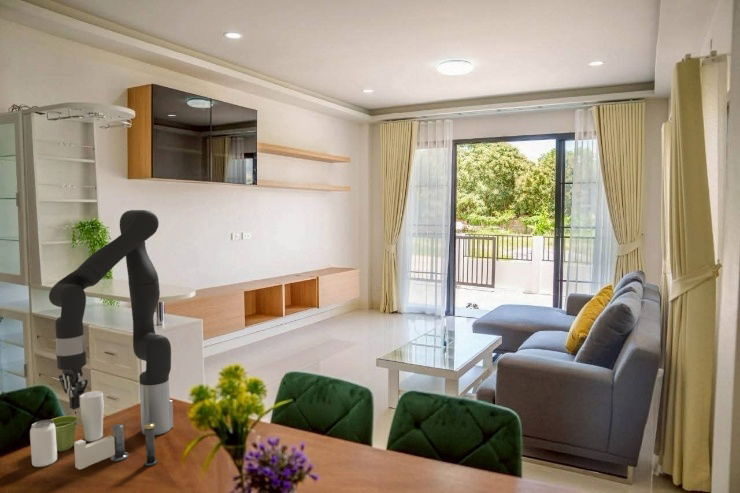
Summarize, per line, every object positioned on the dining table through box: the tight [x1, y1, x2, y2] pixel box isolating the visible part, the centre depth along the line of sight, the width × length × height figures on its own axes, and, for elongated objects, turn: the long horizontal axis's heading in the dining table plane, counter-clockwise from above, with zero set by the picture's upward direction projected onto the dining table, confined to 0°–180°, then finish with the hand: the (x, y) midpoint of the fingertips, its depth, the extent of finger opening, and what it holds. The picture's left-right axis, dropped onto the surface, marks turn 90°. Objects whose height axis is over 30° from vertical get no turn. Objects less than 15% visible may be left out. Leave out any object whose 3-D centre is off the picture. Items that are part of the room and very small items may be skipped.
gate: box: [73, 435, 115, 471], centre depth 152 cm, size 10×2×8 cm, turn 146°
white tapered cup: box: [79, 390, 105, 442], centre depth 172 cm, size 7×7×15 cm
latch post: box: [144, 423, 159, 467], centre depth 154 cm, size 4×4×12 cm
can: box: [29, 419, 58, 468], centre depth 156 cm, size 6×6×12 cm
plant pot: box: [50, 415, 79, 452], centre depth 165 cm, size 9×9×9 cm
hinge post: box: [110, 423, 130, 463], centre depth 158 cm, size 5×5×10 cm
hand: (74, 408), depth 154 cm, fingers closed
